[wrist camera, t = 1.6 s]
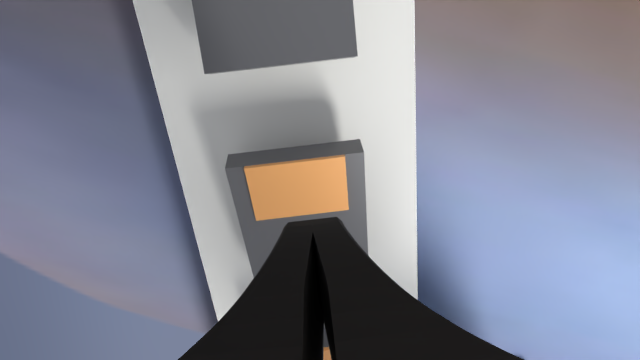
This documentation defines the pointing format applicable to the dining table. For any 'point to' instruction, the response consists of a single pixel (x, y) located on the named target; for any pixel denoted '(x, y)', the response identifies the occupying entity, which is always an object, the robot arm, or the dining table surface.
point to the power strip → (290, 130)
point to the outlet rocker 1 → (273, 33)
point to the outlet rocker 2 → (297, 191)
